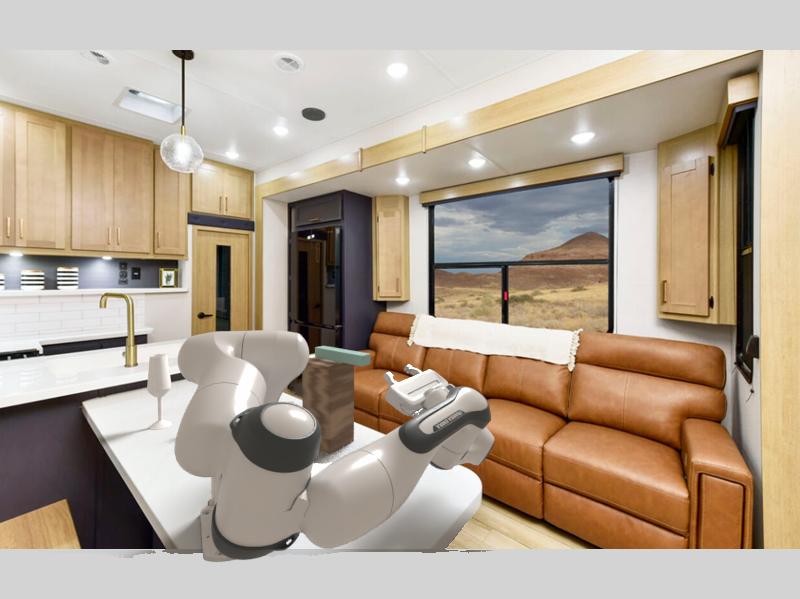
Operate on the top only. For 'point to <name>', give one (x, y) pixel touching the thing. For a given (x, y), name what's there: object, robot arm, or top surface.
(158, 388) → the champagne flute
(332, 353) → the bar
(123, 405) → the top surface
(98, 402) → the top surface
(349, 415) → the stand
